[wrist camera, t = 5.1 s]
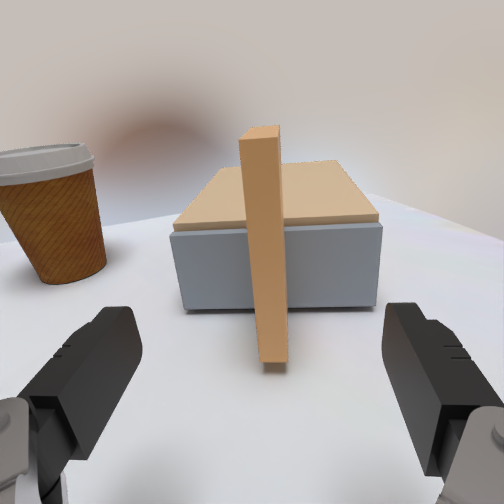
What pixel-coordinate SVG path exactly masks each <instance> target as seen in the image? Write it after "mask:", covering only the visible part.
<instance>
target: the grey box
mask: <svg viewBox="0 0 504 504" xmlns="http://www.w3.org/2000/svg"><path fill="white" fill-rule="evenodd" d="M280 147H281V146H280V126H279V125H275V126H262V127H252V128H251V129H249V131H247V132H246V133H245V134H244V135H243V136H242V137H241V138H240V139H239V149H240V160H241V171H242V181H243V192H244V202H245V213H246V223H247V229H225V230H203V231H181V232H172V234H171V235H170V236H169V238H170V242H171V247H172V252H173V257H174V262H175V267H176V272H177V277H178V282H179V287H180V291H181V296H182V301H183V306H184V309H239V308H255V317H256V328H257V338H258V349H259V359H260V362H288V308H297V307H355V306H376V298H377V287H378V276H379V265H380V253H381V242H382V231H383V226H382V225H381V224H380V222H378V223H356V224H334V225H313V226H291V227H284V213H283V191H282V169H281V148H280Z"/></svg>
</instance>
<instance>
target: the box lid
mask: <svg viewBox="0 0 504 504" xmlns="http://www.w3.org/2000/svg"><path fill="white" fill-rule="evenodd" d="M281 169H282V191H283V213H284V227H291V226H313V225H334V224H356V223H378V220H379V213H378V212H377V211H376V209H375V208H374V207H373V206H372V204H371V203H370V202H369V201H368V199H367V198H366V197H365V196H364V194H363V193H362V192H361V191H360V189H359V188H358V187H357V186H356V184H355V183H354V182H353V181H352V179H351V178H350V177H349V176H348V174H347V173H346V172H345V171H344V169H343V168H342V167H341V166H340V164H339V163H338V162H337V161H336V160H330V161H315V162H301V163H287V164H281ZM173 227H174V232H181V231H203V230H225V229H247V223H246V213H245V202H244V192H243V181H242V171H241V167H228V168H221V169H220V170H219V172H218V173H217V174H216V175H215V176H214V177H213V178H212V180H211V181H210V182H209V183H208V184H207V185H206V186H205V188H204V189H203V190H202V191H201V192H200V193H199V194H198V196H197V197H196V198H195V199H194V200H193V201H192V202H191V204H190V205H189V206H188V207H187V208H186V209H185V211H184V212H183V213H182V214H181V215H180V216H179V217H178V218H177V220H176V221H175V222H174V223H173Z"/></svg>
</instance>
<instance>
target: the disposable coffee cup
mask: <svg viewBox="0 0 504 504" xmlns="http://www.w3.org/2000/svg"><path fill="white" fill-rule="evenodd" d="M94 159H95V158H94V156H91V154H90V153H89V151H88V149H87V147H86V145H85V144H83V143H68V144H57V145H47V146H38V147H29V148H23V149H15V150H8V151H2V152H0V211H1V213H2V215H3V216H4V218H5V220H6V222H7V223H8V225H9V227H10V228H11V230H12V232H13V233H14V235H15V237H16V238H17V240H18V242H19V244H20V245H21V247H22V249H23V250H24V252H25V253H26V255H27V257H28V258H29V260H30V262H31V264H32V265H33V267H34V269H35V270H36V272H37V274H38V275H39V277H40V279H41V281H42V282H44V283H48V284H64V283H68V282H73V281H77V280H80V279H83V278H85V277H88V276H90V275H92V274H94V273H96V272H98V271H99V270H101V269H102V268H103V267H104V266H105V264H106V262H107V261H106V255H105V248H104V242H103V235H102V228H101V222H100V216H99V209H98V202H97V196H96V189H95V183H94V176H93V170H92V168H93V167H94V164H93V161H94Z"/></svg>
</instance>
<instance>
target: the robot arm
mask: <svg viewBox="0 0 504 504" xmlns="http://www.w3.org/2000/svg"><path fill="white" fill-rule="evenodd" d="M141 357H142V342H141V338H140V335H139V331H138V328H137V324H136V321H135V317H134V314H133V311H132V309H131V308H130V307H128V306H122V307H104V308H103V309H102V310H101V311H100V312H99V313H98V314H97V316H96V317H95V318H94V319H93V320H92V322H88V323H87V324H85V325H84V326H83V327H81V328H80V329H78V330H77V331H75V332H74V333H73V334H72V335H71V336H70V337H69V338H68V339H67V340H66V342H65V343H64V344H63V345H62V348H59V349H58V351H57V352H56V353H55V354H54V355H53V358H50V360H49V361H48V362H47V363H46V364H45V365H44V366H43V367H42V369H41V370H40V371H39V372H38V373H37V374H36V375H35V377H34V378H33V379H32V380H31V381H30V382H29V383H28V384H27V386H26V387H25V388H24V389H23V390H22V391H21V392H20V393H19V395H18V396H17V397H12V398H7V399H3V400H0V504H68V494H67V483H66V476H65V473H64V471H63V469H64V467H65V466H66V464H67V462H68V461H69V460H87V459H88V458H89V456H90V454H91V452H92V450H93V448H94V446H95V445H96V443H97V441H98V439H99V437H100V435H101V434H102V432H103V430H104V428H105V426H106V424H107V422H108V421H109V419H110V417H111V415H112V413H113V411H114V409H115V408H116V406H117V404H118V402H119V400H120V398H121V397H122V395H123V393H124V391H125V389H126V387H127V385H128V384H129V382H130V380H131V378H132V376H133V374H134V373H135V371H136V369H137V367H138V365H139V363H140V361H141ZM382 357H383V362H384V366H385V368H386V371H387V374H388V377H389V379H390V382H391V385H392V387H393V390H394V393H395V396H396V398H397V401H398V404H399V407H400V409H401V412H402V415H403V417H404V420H405V423H406V426H407V428H408V431H409V434H410V437H411V439H412V442H413V445H414V448H415V450H416V453H417V456H418V458H419V461H420V464H421V467H422V469H423V472H424V475H425V476H433V477H442V479H443V482H444V487H443V490H442V492H441V494H440V495H439V497H438V499H437V502H436V504H504V403H503V402H502V401H501V399H500V398H499V396H498V395H497V394H496V392H495V391H494V389H493V388H492V386H491V385H490V384H489V382H488V381H487V379H486V378H485V377H484V375H483V374H482V372H481V371H480V369H479V368H478V367H477V365H476V364H475V362H474V361H472V360H471V357H470V355H469V354H468V352H467V351H466V350H465V348H463V345H462V344H461V343H460V341H459V340H458V338H457V337H456V335H455V334H454V333H453V331H451V330H450V329H449V328H447V327H446V326H445V325H443V324H442V323H440V322H439V321H438V320H427V319H426V318H425V316H424V315H423V313H422V311H421V310H420V308H419V307H418V305H417V304H416V303H387V305H386V309H385V318H384V327H383V336H382Z"/></svg>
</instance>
